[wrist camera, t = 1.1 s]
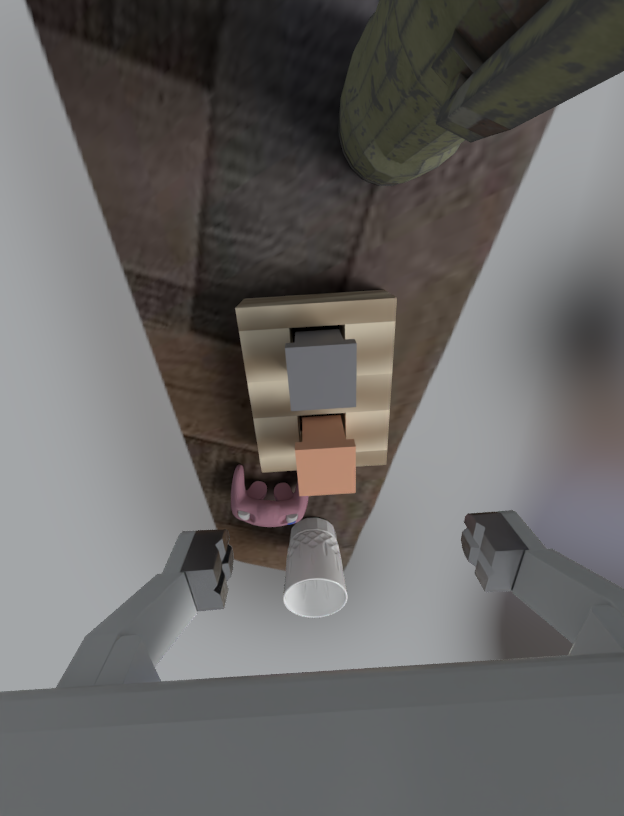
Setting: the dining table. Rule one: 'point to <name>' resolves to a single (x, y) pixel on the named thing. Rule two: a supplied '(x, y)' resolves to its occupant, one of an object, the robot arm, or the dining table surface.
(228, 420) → the dining table surface
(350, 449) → the terracotta plug
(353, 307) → the socket block
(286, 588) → the white cup
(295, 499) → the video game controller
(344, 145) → the thermos
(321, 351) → the charcoal plug
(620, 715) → the robot arm
